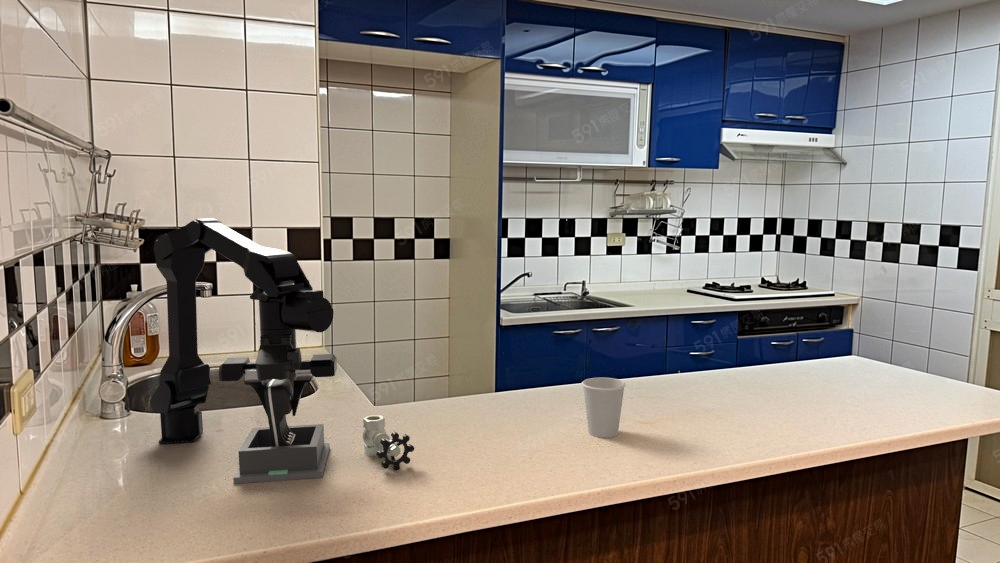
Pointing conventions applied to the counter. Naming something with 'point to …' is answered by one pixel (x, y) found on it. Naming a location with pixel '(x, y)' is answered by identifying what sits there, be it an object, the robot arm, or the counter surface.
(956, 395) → the counter surface
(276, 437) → the battery charger
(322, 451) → the dock
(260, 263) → the robot arm
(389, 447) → the valve
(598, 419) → the dixie cup
